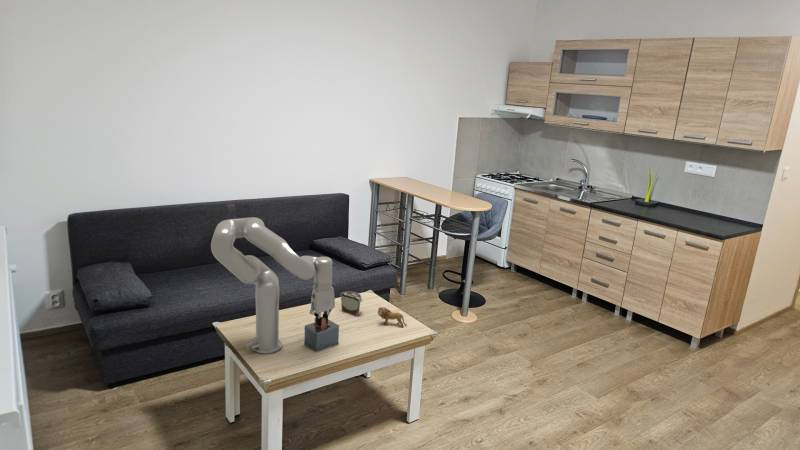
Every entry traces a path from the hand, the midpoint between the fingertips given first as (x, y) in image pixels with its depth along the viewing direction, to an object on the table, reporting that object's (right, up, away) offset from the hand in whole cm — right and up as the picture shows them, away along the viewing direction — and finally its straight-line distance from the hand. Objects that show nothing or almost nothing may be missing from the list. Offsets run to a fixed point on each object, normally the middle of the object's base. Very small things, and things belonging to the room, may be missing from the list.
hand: (321, 323), depth 232 cm
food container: (+10, -1, +37) cm, 39 cm away
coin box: (-1, -9, +2) cm, 10 cm away
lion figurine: (+30, -6, +26) cm, 40 cm away
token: (0, -3, +1) cm, 3 cm away
